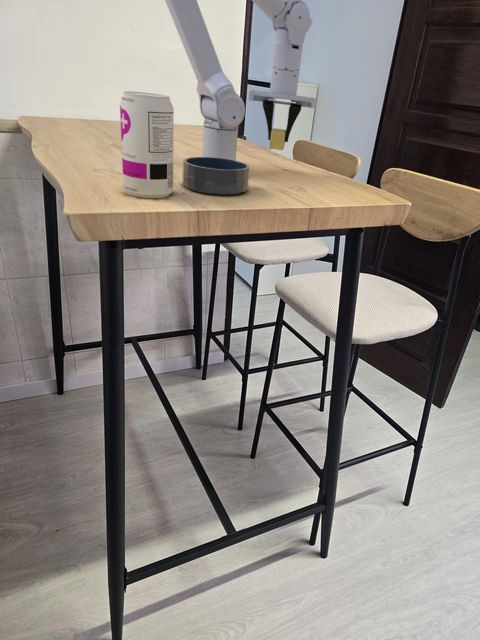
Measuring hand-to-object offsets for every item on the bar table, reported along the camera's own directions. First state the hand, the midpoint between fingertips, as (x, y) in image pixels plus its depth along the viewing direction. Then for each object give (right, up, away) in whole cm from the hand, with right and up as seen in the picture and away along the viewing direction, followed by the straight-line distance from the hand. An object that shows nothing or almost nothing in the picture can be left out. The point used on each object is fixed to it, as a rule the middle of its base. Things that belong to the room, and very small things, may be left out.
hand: (277, 140), depth 106 cm
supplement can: (-23, -20, -25) cm, 40 cm away
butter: (0, -1, +1) cm, 1 cm away
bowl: (-12, -16, -17) cm, 27 cm away
